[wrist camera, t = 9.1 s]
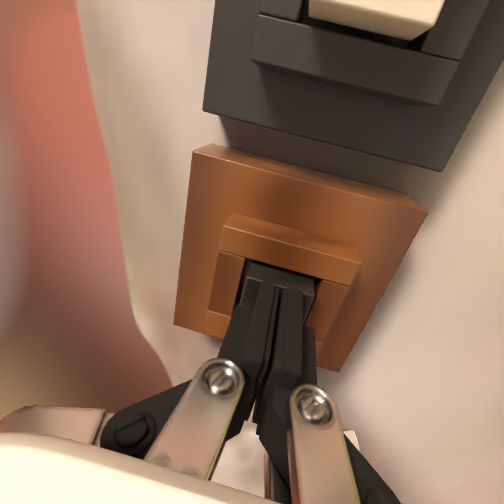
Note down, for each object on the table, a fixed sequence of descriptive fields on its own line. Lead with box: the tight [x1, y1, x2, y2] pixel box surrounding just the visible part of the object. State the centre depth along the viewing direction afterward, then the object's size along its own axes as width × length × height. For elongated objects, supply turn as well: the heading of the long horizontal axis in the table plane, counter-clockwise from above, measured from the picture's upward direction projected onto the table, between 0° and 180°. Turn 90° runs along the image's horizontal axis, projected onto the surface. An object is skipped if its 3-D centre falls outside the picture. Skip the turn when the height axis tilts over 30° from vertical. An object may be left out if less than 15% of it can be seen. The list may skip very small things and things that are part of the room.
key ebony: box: [239, 260, 315, 325], centre depth 12 cm, size 3×3×2 cm
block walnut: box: [173, 143, 428, 372], centre depth 14 cm, size 10×10×4 cm
